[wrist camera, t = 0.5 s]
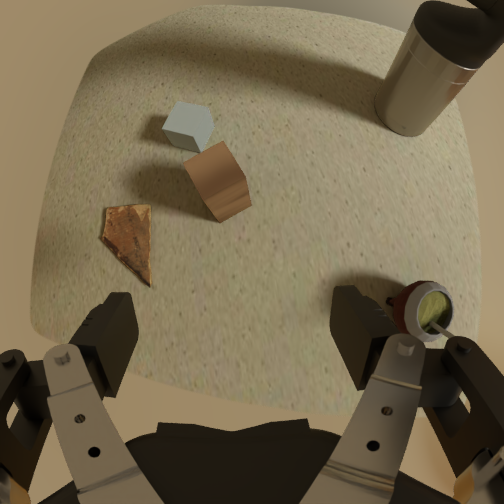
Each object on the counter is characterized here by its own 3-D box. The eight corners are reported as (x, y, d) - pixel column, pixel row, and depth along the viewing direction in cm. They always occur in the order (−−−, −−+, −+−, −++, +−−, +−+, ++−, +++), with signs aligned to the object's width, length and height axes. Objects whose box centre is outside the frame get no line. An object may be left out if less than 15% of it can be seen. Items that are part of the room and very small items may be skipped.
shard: (154, 287, 37) (149, 287, 36) (104, 288, 38) (98, 287, 36) (155, 205, 39) (150, 202, 37) (106, 210, 39) (100, 207, 37)
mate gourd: (394, 273, 35) (461, 262, 20) (439, 297, 34) (512, 297, 20) (371, 327, 35) (429, 347, 20) (417, 349, 34) (485, 373, 19)
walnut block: (203, 193, 38) (182, 162, 28) (234, 176, 38) (223, 140, 28) (220, 223, 37) (202, 200, 27) (251, 205, 37) (245, 176, 27)
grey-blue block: (186, 119, 40) (177, 100, 35) (214, 126, 39) (208, 107, 34) (173, 145, 39) (161, 128, 34) (201, 153, 39) (193, 136, 34)
